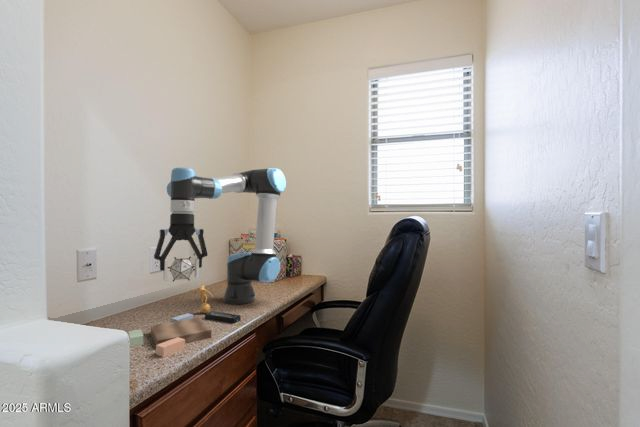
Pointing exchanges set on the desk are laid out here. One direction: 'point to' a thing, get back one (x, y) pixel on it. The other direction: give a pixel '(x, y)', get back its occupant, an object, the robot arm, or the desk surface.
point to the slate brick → (182, 317)
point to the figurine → (205, 307)
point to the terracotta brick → (170, 347)
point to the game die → (181, 268)
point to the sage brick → (135, 337)
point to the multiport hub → (223, 317)
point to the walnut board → (181, 331)
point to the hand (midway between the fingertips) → (181, 278)
